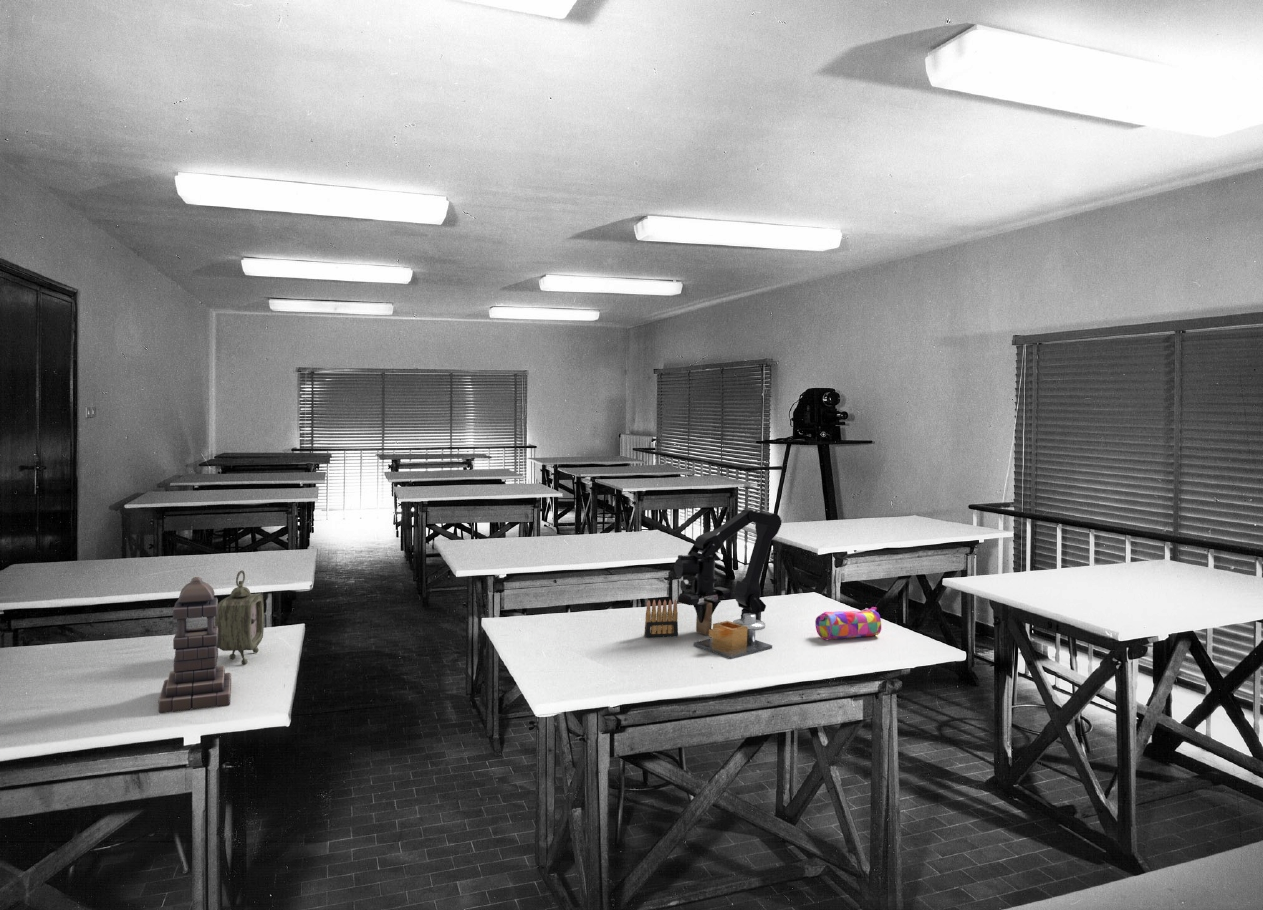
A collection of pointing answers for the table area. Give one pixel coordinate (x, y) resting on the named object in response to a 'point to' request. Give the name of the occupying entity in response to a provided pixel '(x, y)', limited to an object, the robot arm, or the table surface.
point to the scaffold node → (735, 637)
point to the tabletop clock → (240, 621)
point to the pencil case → (848, 624)
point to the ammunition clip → (661, 620)
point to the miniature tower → (195, 655)
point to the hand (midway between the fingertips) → (704, 621)
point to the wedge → (705, 620)
